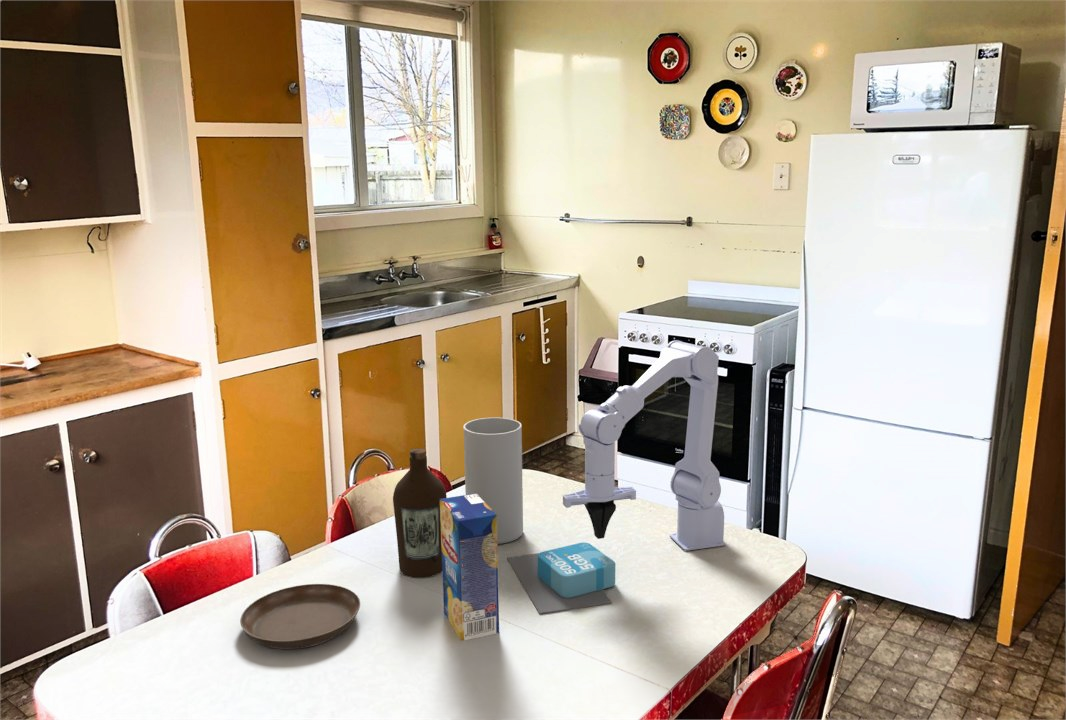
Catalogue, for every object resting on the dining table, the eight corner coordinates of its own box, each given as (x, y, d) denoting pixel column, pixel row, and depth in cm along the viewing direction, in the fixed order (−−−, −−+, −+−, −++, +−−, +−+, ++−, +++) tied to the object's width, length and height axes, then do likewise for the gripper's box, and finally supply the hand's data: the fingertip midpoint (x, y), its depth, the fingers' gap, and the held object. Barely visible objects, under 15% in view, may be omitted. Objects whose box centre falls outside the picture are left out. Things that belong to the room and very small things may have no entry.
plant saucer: (223, 623, 155) (222, 606, 154) (328, 587, 168) (327, 571, 167) (270, 672, 140) (269, 654, 139) (382, 629, 152) (381, 611, 152)
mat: (571, 550, 182) (571, 548, 182) (611, 603, 160) (612, 601, 160) (507, 558, 179) (507, 557, 179) (539, 614, 156) (539, 613, 156)
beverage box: (479, 604, 160) (476, 493, 155) (499, 633, 150) (496, 514, 145) (443, 611, 158) (439, 498, 153) (461, 641, 148) (458, 521, 143)
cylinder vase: (458, 528, 194) (455, 422, 189) (509, 518, 199) (507, 414, 194) (479, 550, 183) (476, 437, 178) (532, 539, 188) (531, 429, 183)
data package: (618, 563, 165) (564, 577, 160) (618, 585, 166) (564, 600, 161) (586, 540, 176) (534, 553, 170) (586, 561, 176) (534, 574, 171)
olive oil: (396, 558, 180) (391, 443, 174) (447, 554, 181) (443, 441, 176) (396, 581, 169) (389, 461, 164) (450, 577, 171) (445, 457, 165)
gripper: (626, 460, 173) (626, 524, 176) (557, 468, 169) (558, 533, 172) (640, 472, 166) (639, 538, 169) (569, 480, 162) (569, 547, 165)
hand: (599, 536), depth 170 cm, fingers closed
